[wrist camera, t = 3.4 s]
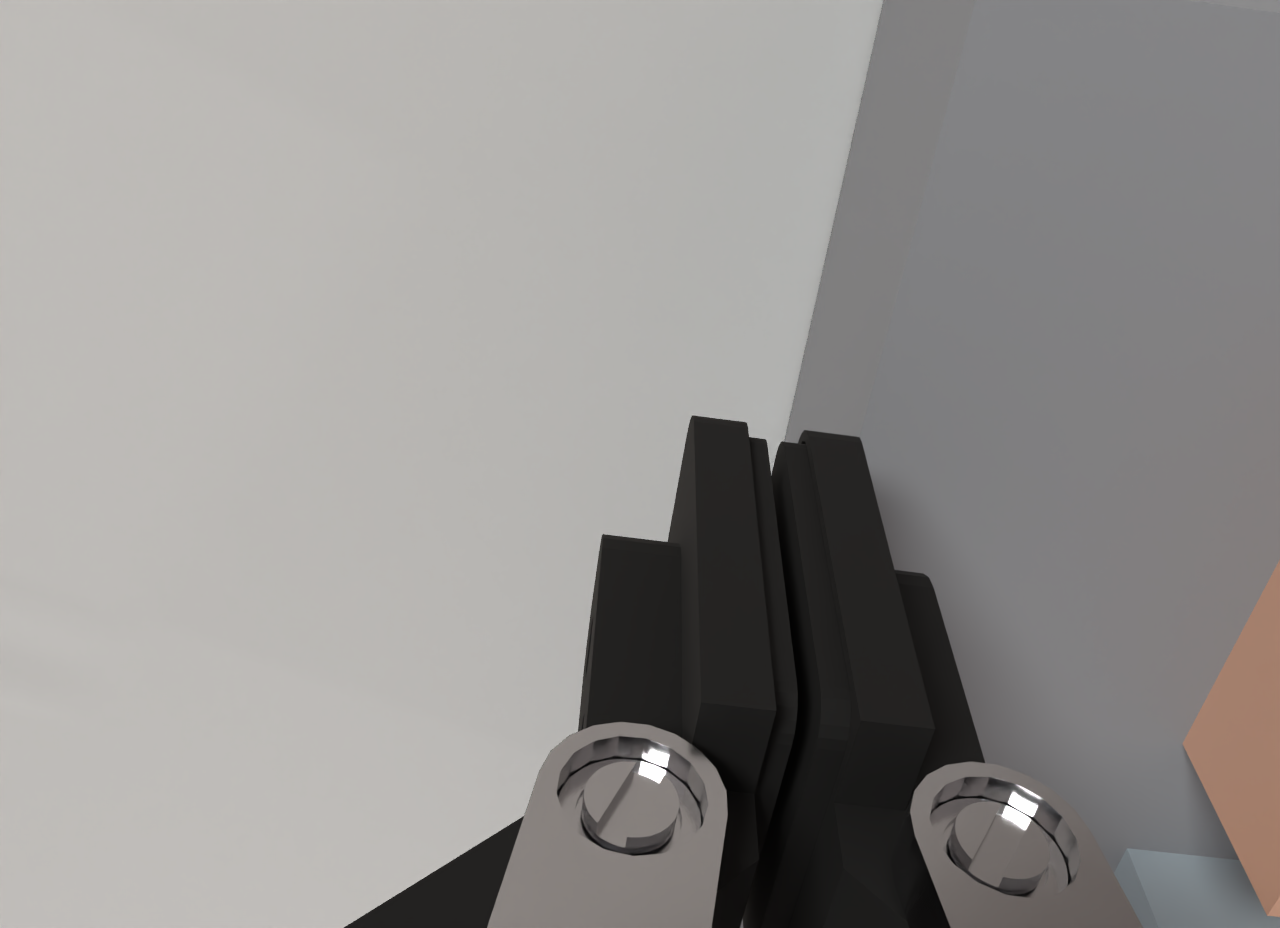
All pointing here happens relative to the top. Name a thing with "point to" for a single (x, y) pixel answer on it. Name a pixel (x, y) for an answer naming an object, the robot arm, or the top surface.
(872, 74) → the grey flat block
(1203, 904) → the blue-grey tile
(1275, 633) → the terracotta tile
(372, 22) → the top surface
